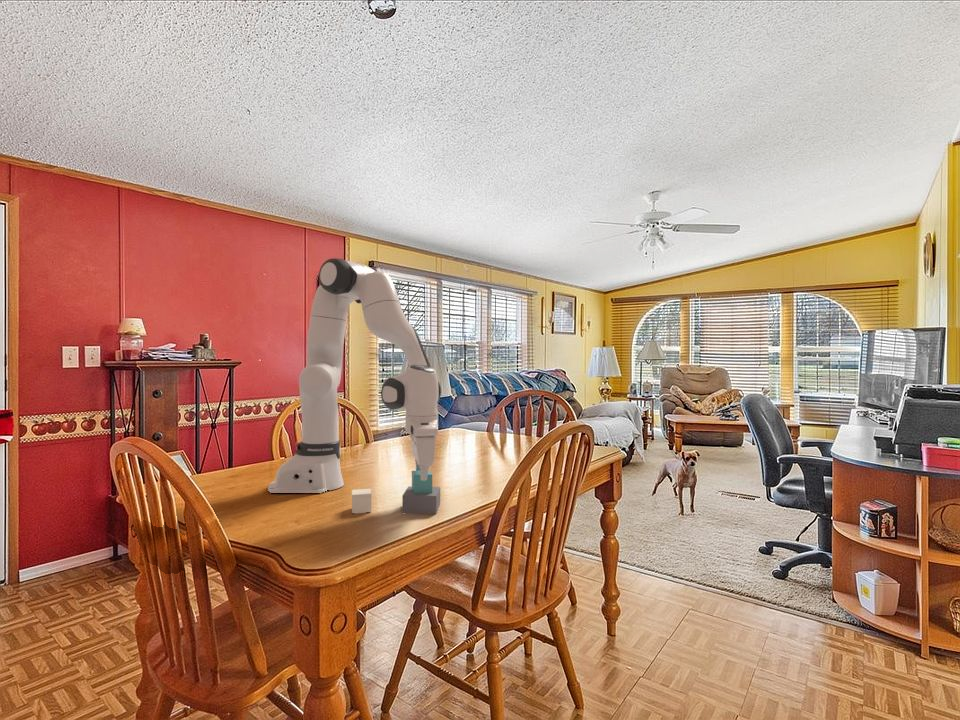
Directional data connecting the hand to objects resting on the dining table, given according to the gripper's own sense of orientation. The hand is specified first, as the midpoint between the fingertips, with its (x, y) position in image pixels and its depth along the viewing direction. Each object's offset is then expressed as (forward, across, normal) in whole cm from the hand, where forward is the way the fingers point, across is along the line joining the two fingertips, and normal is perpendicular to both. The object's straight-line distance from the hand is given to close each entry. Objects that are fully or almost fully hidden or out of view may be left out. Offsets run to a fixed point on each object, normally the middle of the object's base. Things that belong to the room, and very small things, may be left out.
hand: (421, 475), depth 145 cm
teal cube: (+4, 0, 0) cm, 4 cm away
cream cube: (+9, -2, -16) cm, 18 cm away
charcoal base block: (+9, 0, 0) cm, 9 cm away
